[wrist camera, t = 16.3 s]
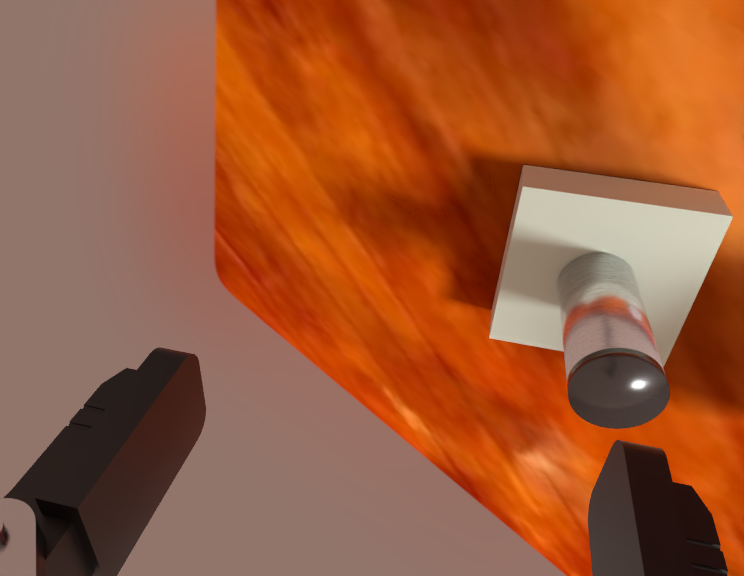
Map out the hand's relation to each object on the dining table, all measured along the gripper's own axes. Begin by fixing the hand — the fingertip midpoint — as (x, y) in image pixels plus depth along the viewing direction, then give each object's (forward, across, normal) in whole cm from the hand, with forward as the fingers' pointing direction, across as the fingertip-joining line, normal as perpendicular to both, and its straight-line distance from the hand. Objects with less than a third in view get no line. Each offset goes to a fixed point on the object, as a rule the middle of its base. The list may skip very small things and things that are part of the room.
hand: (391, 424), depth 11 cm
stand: (+36, -11, +16) cm, 41 cm away
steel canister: (+32, -11, +16) cm, 37 cm away
